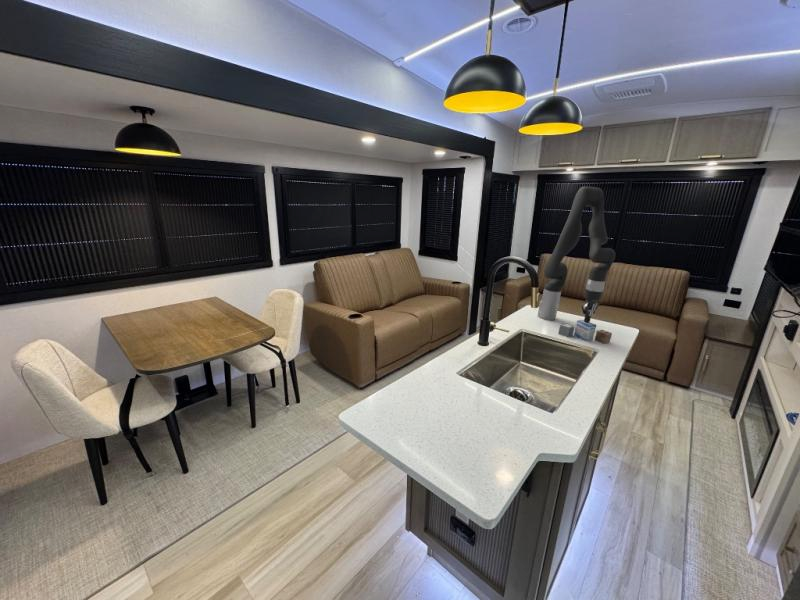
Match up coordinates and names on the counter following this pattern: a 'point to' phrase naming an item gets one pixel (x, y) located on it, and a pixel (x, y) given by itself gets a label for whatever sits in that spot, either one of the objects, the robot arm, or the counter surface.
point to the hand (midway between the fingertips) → (586, 322)
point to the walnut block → (603, 336)
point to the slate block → (566, 330)
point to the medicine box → (584, 330)
